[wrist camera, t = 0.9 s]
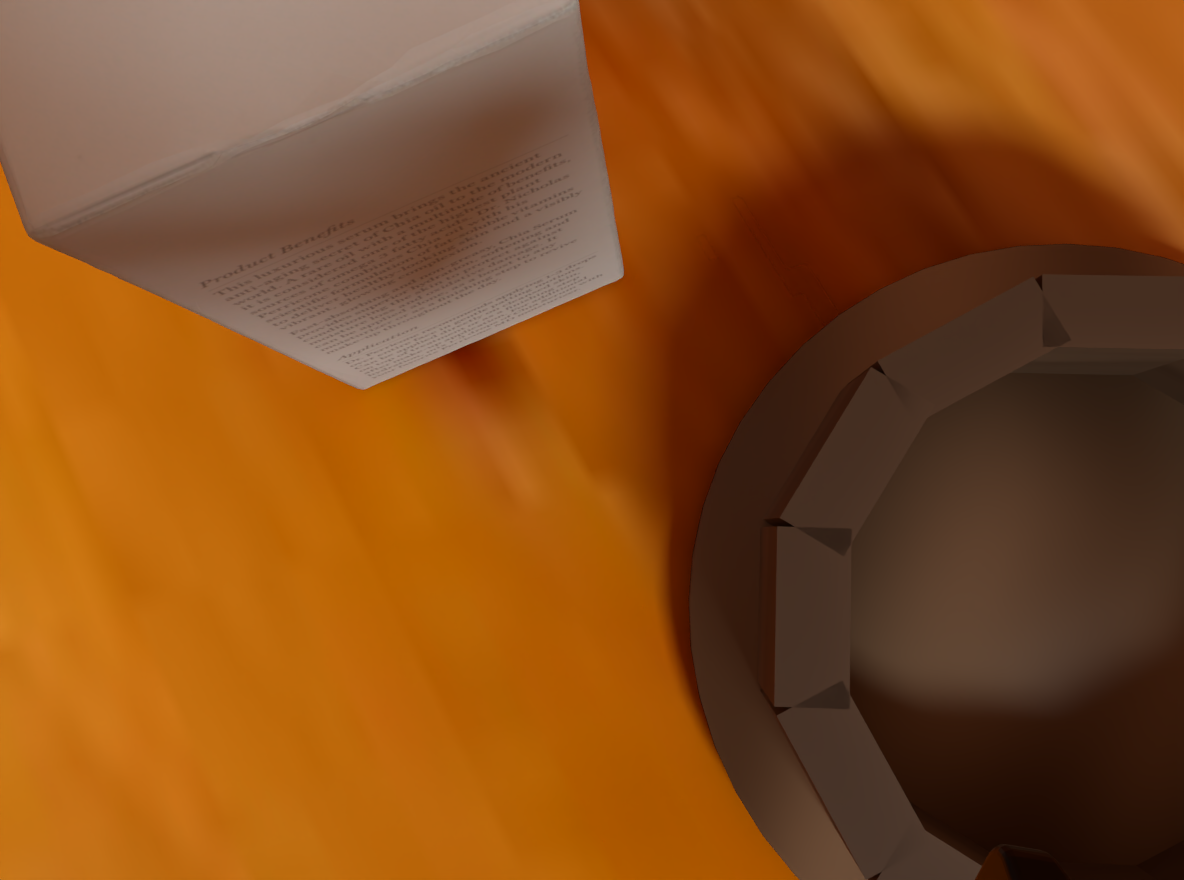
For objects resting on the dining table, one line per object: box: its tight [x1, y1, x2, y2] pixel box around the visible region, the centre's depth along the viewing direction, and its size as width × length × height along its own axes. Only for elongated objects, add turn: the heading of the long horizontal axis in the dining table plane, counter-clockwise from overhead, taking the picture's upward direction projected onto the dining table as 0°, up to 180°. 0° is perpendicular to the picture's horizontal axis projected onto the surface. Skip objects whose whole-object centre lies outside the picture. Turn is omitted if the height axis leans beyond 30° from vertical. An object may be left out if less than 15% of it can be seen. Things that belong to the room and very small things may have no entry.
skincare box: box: [0, 0, 624, 389], centre depth 17 cm, size 6×4×12 cm
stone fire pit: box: [689, 244, 1184, 880], centre depth 20 cm, size 14×14×4 cm
